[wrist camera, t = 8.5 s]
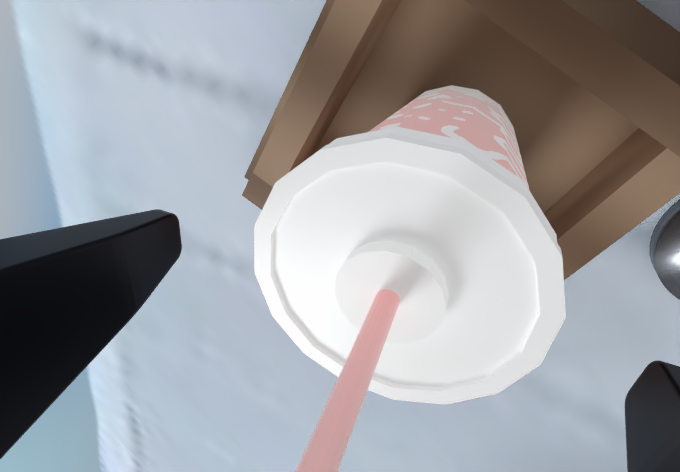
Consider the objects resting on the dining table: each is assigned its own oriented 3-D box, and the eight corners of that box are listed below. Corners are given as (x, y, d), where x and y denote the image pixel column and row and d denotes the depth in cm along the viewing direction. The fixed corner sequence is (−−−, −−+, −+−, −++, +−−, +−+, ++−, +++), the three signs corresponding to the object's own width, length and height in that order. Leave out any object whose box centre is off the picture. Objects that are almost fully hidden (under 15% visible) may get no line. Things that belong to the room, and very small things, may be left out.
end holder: (474, 328, 20) (467, 383, 17) (255, 169, 20) (212, 198, 17) (762, 98, 13) (836, 129, 10) (412, -157, 12) (382, -202, 10)
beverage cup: (561, 198, 15) (716, 869, 4) (405, 239, 18) (215, 672, 7) (508, 26, 13) (473, 275, 2) (343, 105, 16) (-77, 386, 5)
